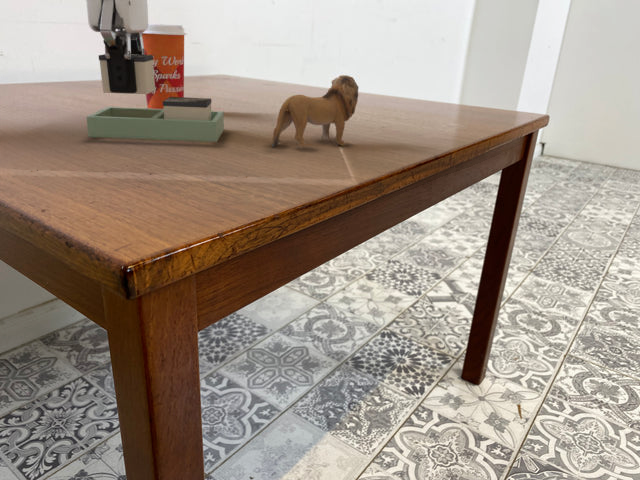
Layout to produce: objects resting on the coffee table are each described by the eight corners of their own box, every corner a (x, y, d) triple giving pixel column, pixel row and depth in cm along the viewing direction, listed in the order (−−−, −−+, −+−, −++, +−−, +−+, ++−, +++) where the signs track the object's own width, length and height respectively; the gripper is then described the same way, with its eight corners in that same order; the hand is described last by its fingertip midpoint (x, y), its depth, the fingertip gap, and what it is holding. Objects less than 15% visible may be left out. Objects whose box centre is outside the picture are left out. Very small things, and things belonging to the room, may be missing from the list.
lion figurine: (337, 136, 77) (341, 73, 74) (364, 142, 74) (369, 76, 70) (259, 147, 68) (259, 75, 64) (286, 155, 64) (288, 80, 61)
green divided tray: (216, 145, 67) (216, 121, 66) (89, 141, 66) (86, 116, 65) (224, 133, 75) (223, 111, 74) (109, 128, 74) (107, 106, 73)
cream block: (102, 92, 66) (98, 55, 64) (113, 88, 70) (109, 53, 68) (147, 94, 66) (144, 57, 65) (155, 90, 70) (153, 55, 69)
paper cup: (145, 119, 82) (137, 23, 77) (139, 111, 89) (132, 22, 83) (194, 118, 85) (191, 26, 80) (185, 110, 92) (181, 25, 86)
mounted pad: (164, 136, 68) (162, 101, 67) (171, 129, 73) (169, 96, 71) (207, 137, 69) (206, 103, 67) (212, 131, 73) (211, 98, 71)
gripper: (104, -62, 69) (119, 82, 76) (51, -86, 53) (75, 97, 60) (162, -58, 69) (171, 84, 76) (126, -82, 54) (142, 100, 61)
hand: (129, 88), depth 68 cm, fingers closed on cream block, 4 cm apart
